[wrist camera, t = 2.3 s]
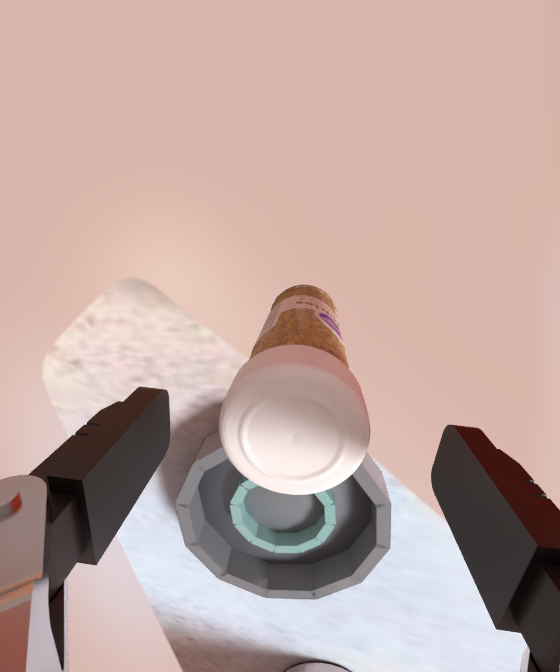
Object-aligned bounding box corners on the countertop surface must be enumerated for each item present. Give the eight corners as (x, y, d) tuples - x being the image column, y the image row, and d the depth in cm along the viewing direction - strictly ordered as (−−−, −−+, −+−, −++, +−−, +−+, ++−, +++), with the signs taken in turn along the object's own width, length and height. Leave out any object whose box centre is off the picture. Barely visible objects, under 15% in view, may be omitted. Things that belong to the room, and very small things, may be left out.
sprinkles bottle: (349, 306, 21) (408, 422, 9) (312, 359, 23) (316, 524, 10) (291, 269, 21) (263, 336, 8) (257, 326, 22) (189, 456, 10)
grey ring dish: (417, 521, 27) (430, 556, 24) (264, 584, 31) (259, 620, 28) (310, 375, 23) (310, 396, 20) (154, 468, 27) (135, 496, 25)
